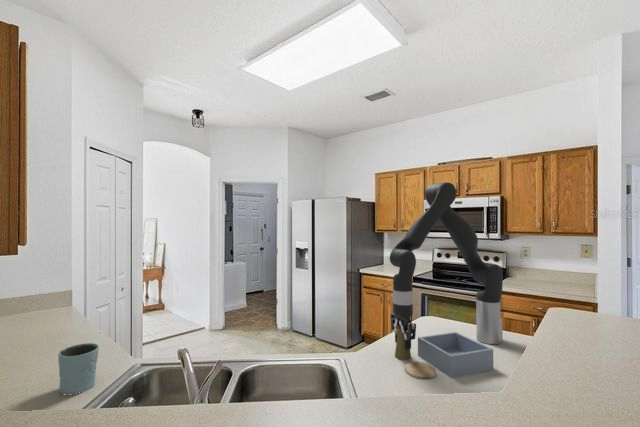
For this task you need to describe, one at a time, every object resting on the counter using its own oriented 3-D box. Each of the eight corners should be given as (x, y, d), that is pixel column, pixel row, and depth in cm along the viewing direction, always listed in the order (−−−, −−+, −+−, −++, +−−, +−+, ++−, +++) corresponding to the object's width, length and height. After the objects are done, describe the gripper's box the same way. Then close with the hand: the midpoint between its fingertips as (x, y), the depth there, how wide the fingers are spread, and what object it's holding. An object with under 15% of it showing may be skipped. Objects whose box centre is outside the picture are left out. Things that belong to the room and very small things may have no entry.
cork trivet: (423, 363, 115) (423, 360, 115) (442, 375, 106) (442, 372, 106) (399, 367, 112) (399, 364, 112) (416, 380, 103) (416, 377, 103)
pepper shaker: (411, 360, 117) (411, 330, 117) (394, 359, 118) (394, 329, 118) (410, 354, 123) (410, 325, 123) (394, 352, 124) (394, 324, 124)
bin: (455, 349, 127) (455, 331, 127) (493, 369, 110) (493, 349, 110) (417, 355, 122) (417, 337, 122) (451, 377, 105) (451, 356, 105)
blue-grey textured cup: (68, 381, 102) (69, 344, 102) (104, 378, 105) (104, 341, 105) (49, 399, 92) (50, 357, 93) (89, 394, 95) (89, 354, 95)
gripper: (422, 305, 115) (423, 352, 115) (400, 296, 129) (400, 338, 129) (404, 307, 113) (405, 355, 113) (384, 298, 127) (384, 340, 126)
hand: (402, 345), depth 121 cm, fingers open, 6 cm apart
